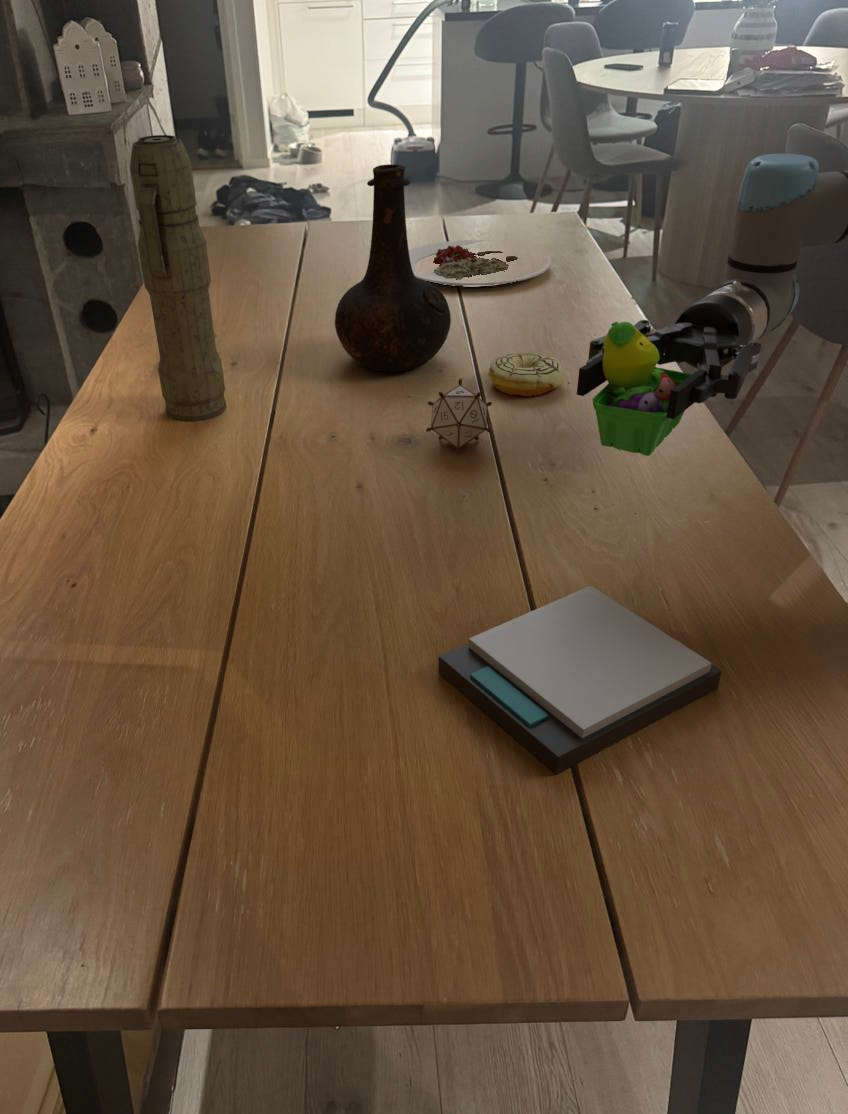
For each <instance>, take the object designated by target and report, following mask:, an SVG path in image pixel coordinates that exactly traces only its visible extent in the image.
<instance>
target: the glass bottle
mask: <svg viewBox="0 0 848 1114" xmlns="http://www.w3.org/2000/svg"><path fill="white" fill-rule="evenodd" d="M405 171H406V166H404V165H402V164H398V163H397V164H396V163H394V164H381V165H377V166H375V167H373V169H372V174H373V178H372V179H370V180H368V181H367V182H366V185H367V186H368V187H373V199H372V200H373V205H372V226H371V238H370V239H371V240H370V249H369V255H368V262H367V268H366V271H365V274H364V276H363V278H362V280H360V281H359V282H357V283H355V284H354V285H353V286H351V287H350V288H349V289H348V290H347V291H345V293H344V294H343V295H342V297H341V298H340V299H339V302H338V303H337V307H336V309H335V310H336V311H335V315H334V327H335V328H334V329H335V332H336V335H337V338H338V340H339V342H340V344H341V347H343V349H344V350H345V352H346V353H347V354H348V355H349V356H350V357H351V358H352V359H353V360H354V361H355V362H357V363H358V364H359V365H362V366H364V367H365V368H367V369H371V370H375V371H379V372H390V373H391V372H393V373H394V372H402V371H404V372H405V371H409V370H412V369H415V368H418V367H421V366H423V365H424V364H426V363H428V362H429V361H430V360H432V359H433V358H434V357H435V356H436V355H437V354H438V352H439V351H440V350H441V349H442V347H443V346H444V344H445V342H446V340H447V339H448V336H449V333H450V329H451V323H452V317H451V316H452V315H451V311H450V306H449V303H448V301H447V298H446V297H445V295H444V293H442V291H441V290H440V288H438V287H437V286H435V284H433V283H430V282H427V281H424V280H422V279H418V278H416V277H415V275H414V273H413V270H412V267H411V262H410V256H409V250H410V249H409V242H408V232H407V231H408V230H407V219H406V203H405V187H406V186H409V185H410V184H411V180H410V179H409V178H407V177H405Z"/></svg>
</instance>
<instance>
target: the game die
mask: <svg viewBox="0 0 848 1114" xmlns="http://www.w3.org/2000/svg"><path fill="white" fill-rule="evenodd" d="M457 383H458V385H457V386H455V387H454V388H452V389H450V390H449V391H447V392H446V393H444V392H443V391H438V396H439V398H438V399H437V400H435V401H434V402H433V401H431V400H429V401H427V405H428V406H432V407H431V420H430V421H431V422H430V427H426V430H425V432H428V433H429V432H431V431H433V432H434V433H436V434H437V435H438V441H440V440H443V439H444V440H445V441H446V442H448V443H449V444H450V445H452V446H453V447H455V448H456V450H455V453H456V455H457V456H459V455H460V454H461V448H463V447H464V446H465V445H467V444H468V443H470V442H471V441H473V440H475V441H479V440H480V437H479V436H480V435H481V434H483V433H484V432H487V433H488V434H489V433H493V430H492V428H490V427H488V407H492V404H493V401H488V402H487V403H486V402H485V401H484V400H483V399H482V398H481V396H482V392H481V391H478V392H477V393H474V392H473V391H472V390H469V388H467V387H465V386H464V385H463V379H462V378H461V377H459V379H458V382H457Z"/></svg>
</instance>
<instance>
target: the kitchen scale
mask: <svg viewBox="0 0 848 1114" xmlns="http://www.w3.org/2000/svg"><path fill="white" fill-rule="evenodd" d="M437 664H438V665H437V667H438V670H437V672H438V674H439V675H440V676H441V677H442V678H443V679H445V681H447V682H448V683H449V684H451V686H453V688H455V689H456V690H457V691H458V692H460V693H461V694H462V695H463V696H464V697H465V698H466V699H468V700H469V701H470V702H471V703H472V704H473V705H475V706H476V707H477V708H478V709H479V710H480V711H482V713H484V714H485V715H486V716H487V717H489V719H491V720H492V721H493V722H494V723H495V724H497V725H498V726H499V727H500V728H501V729H502V730H503V731H505V732H506V733H507V734H508V735H510V737H511V738H513V739H514V740H515V741H516V742H517V743H519V744H520V745H521V746H522V747H523V748H525V749H526V750H527V751H528V752H529V753H530V754H531V755H532V756H533V757H535V758H536V759H537V760H538V761H539V762H540V763H542V764H543V765H544V766H545V767H546V768H548V770H549V771H551V772H552V773H553V774H554V775H556V776H557V775H558V774H561V773H563V772H565V771H567V770H568V769H570V768H572V767H574V766H576V765H578V764H579V763H581V762H584V761H585V760H587V759H589V758H590V757H592V756H595V755H597V754H599V752H602V751H604V750H606V749H607V748H609V747H611V746H613V745H614V744H617V743H619V742H620V741H623V740H624V739H626V738H628V737H630V736H632V735H634V734H635V733H637V732H638V731H641V730H643V729H644V728H646V727H648V726H650V725H652V724H654V723H655V722H658V721H659V720H661V719H663V718H665V717H667V716H669V715H671V714H672V713H675V712H676V711H679V710H680V709H682V708H684V707H685V706H687V705H690V704H691V703H693V702H696V700H698V699H700V698H702V697H705V696H706V695H708V694H710V693H711V692H714V691H716V690H717V689H718V688H719V686H720V680H721V677H722V673H723V671H722V670H721V669H720V668H718V667H717V666H715V665H713V663H712V662H711V661H709V660H708V659H706V658H704V656H701V655H700V654H698V653H697V652H695V651H694V650H692V649H691V648H689V647H687V646H686V645H684V644H683V643H682V642H680V641H679V640H677V639H675V638H674V637H672V636H671V635H669V634H667V633H666V632H664V631H662V630H661V629H660V628H657V626H655V625H653V624H651V623H650V622H648V621H647V620H645V619H644V618H643V617H640V616H639V615H638V614H636V613H634V612H633V611H631V610H630V609H628V608H627V607H625V606H624V605H622V604H620V603H618V601H616V600H614V599H613V598H611V597H610V596H608V595H607V594H605V593H603V592H602V591H600V590H599V589H597V588H596V587H594V586H592V585H588V586H586V587H584V588H581V589H579V590H577V591H575V592H572V593H569V594H568V595H566V596H563V597H561V598H559V599H556V600H554V601H552V602H549V603H546V604H545V605H542V606H540V607H537V608H536V609H533V610H530V611H529V612H526V613H524V614H522V615H520V616H517V617H515V618H513V619H511V620H508V621H505V622H504V623H501V624H499V625H496V626H494V627H492V628H489V629H487V630H485V631H483V632H480V633H478V634H475V635H473V636H471V637H469V638H468V642H467V643H464V644H463V645H460V646H458V647H456V648H454V649H452V650H449V651H447V652H444V653H441V654H440V655H438V663H437Z"/></svg>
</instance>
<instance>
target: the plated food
mask: <svg viewBox="0 0 848 1114" xmlns="http://www.w3.org/2000/svg"><path fill="white" fill-rule="evenodd" d="M482 241H483V242H484V241H491V239H490V240H487V239H464V240H461V239H460V240H450V241H449V240H448V241H442V242H434V243H430V244H424V245H421V246H417V247H414V248H412V249H409V256H410V262H411V267H412V270H413V273H414V275H415V277H416V278H418V279H422V280H424V281H429V283H430V282H434V283H440V284H446V285H455V286H463V285H494V284H503V283H511V282H515V283H517V282H516V281H518V282H520V281H526V280H529V279H532V278H535V277H537V276H540V275H541V274H544V273H545V272H546V271H547V270H549V269H550V267H551V265H550V264H552V259H551V256H549V255H548V254H547V253H546V252H544V253H545V254H546V255H547V256H548V263H547V264H546V265H545V267H543V268H542V269H540V270H539V271H537V272H534V273H532V274H530V275H527V276H524V277H520V278H516V279H510V280H506V281H498V282H488V283H459V280H461V279H462V278H463V277H468V278H469V277H472V275H473V276H476V275H480V274H481V275H487V274H491V273H496V272H499V271H504V270H507V269H508V266H509V265H508V264H506V262H503V261H501V260H499V259H496V258H492V259H491V260H489V259H484V258H480V257H479V258H477V257H476V256H474V255H478V256H484V255H485V254H490V253H503V252H501V251H485V252H478V253H477V254H476V253H472V252H469V251H468V249H467V248H466V249H465V248H464V249H463V248H462V247H461V246H463V245H469V244H473V243H476V242H477V243H478V242H482ZM432 255H436V257H434V261H433V263H435V264H440V265H439V267H437V268H436V269H434V272H430V274H432V275H430V274H429V276H426V277H424V276H422V275H420V274H418V273H417V272H415V270H414V265H415V264H416V263H417V262H418V261H420V260H421V259H424V258H426V257H429V256H432ZM517 259H518V257H516V256H507V257H506V261H507V262H510V261H514V260H517ZM549 266H550V267H549ZM548 268H549V269H548ZM504 272H505V271H504ZM456 279H459V280H456ZM434 283H433V284H434ZM511 284H512V283H511Z"/></svg>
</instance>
